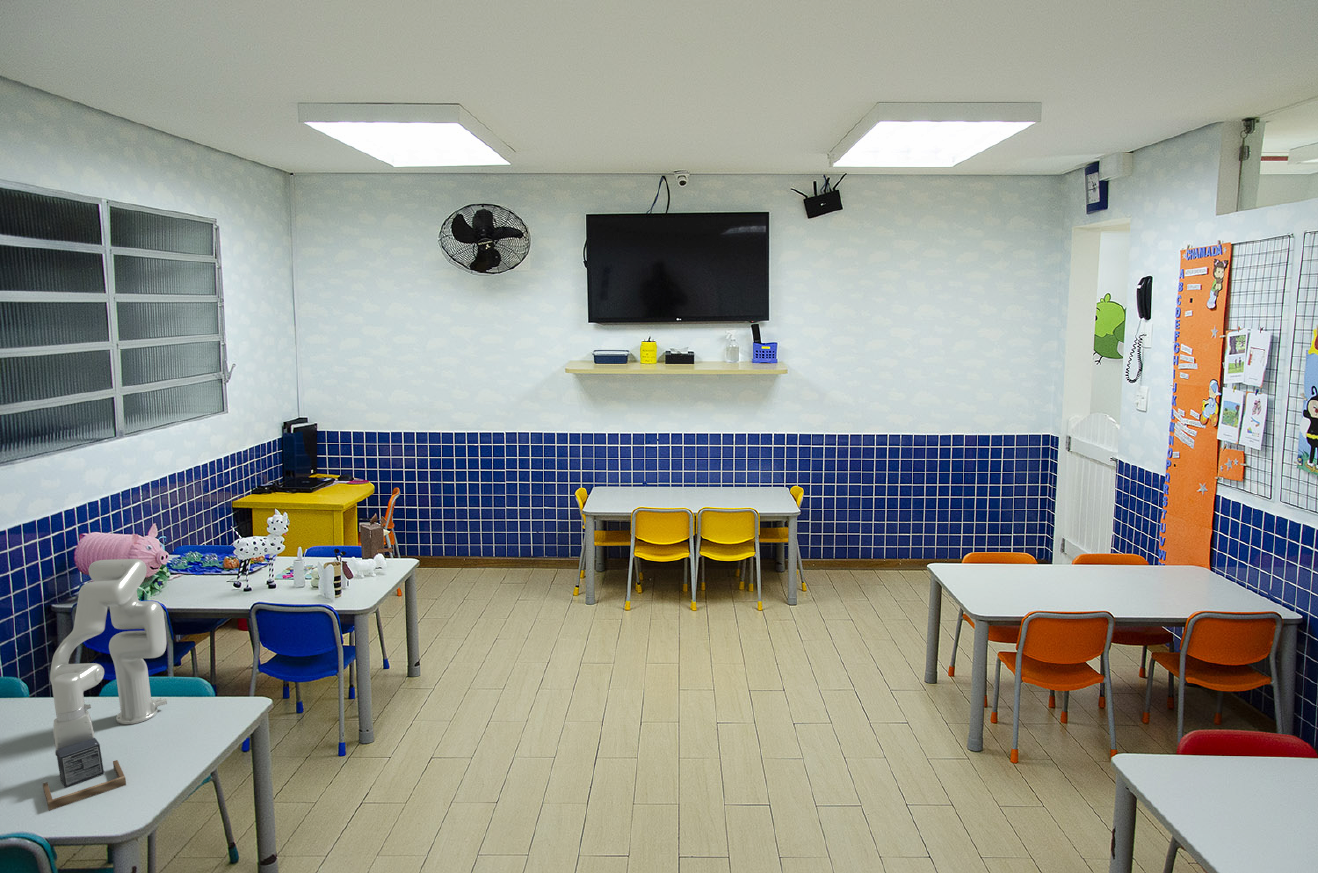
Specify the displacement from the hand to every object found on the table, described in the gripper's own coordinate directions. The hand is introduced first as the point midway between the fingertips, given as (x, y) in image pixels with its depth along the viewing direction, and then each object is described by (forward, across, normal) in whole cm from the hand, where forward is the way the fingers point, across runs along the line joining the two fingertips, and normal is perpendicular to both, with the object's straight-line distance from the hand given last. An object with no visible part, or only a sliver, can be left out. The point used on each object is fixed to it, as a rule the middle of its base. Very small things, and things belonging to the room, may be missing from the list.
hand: (78, 766), depth 266 cm
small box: (+2, 0, +5) cm, 5 cm away
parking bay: (+2, 0, +12) cm, 12 cm away
